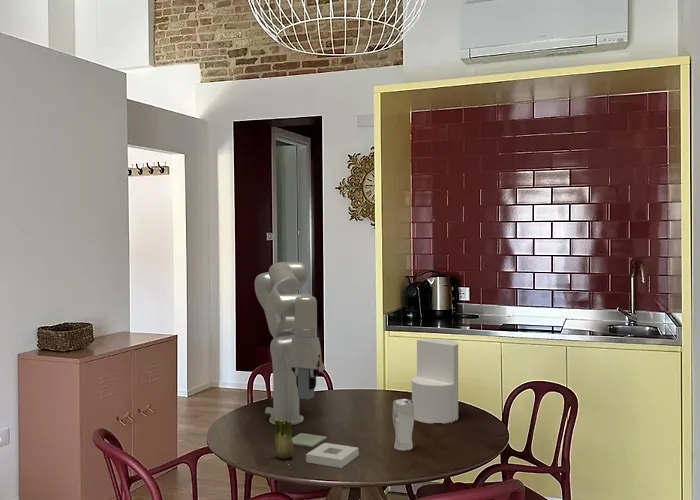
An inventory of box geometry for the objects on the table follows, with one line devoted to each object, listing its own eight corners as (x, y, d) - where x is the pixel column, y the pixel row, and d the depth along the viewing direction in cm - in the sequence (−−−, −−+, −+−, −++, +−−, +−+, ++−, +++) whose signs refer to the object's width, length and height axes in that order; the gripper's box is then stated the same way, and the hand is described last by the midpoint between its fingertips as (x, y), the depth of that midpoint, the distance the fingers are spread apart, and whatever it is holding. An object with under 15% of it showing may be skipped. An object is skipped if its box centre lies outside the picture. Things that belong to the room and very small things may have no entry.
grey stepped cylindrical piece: (431, 408, 264) (430, 337, 263) (467, 416, 252) (467, 342, 251) (402, 417, 252) (402, 342, 251) (439, 426, 240) (439, 348, 239)
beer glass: (400, 452, 212) (399, 405, 212) (388, 446, 218) (388, 400, 218) (418, 449, 215) (418, 402, 215) (406, 443, 222) (406, 397, 221)
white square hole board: (306, 462, 204) (306, 454, 204) (324, 450, 215) (324, 442, 215) (341, 468, 199) (341, 459, 199) (358, 455, 209) (358, 447, 209)
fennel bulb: (272, 457, 209) (272, 418, 208) (286, 453, 212) (285, 416, 211) (282, 462, 204) (282, 423, 204) (296, 458, 207) (296, 420, 207)
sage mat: (285, 443, 222) (285, 441, 222) (300, 434, 231) (300, 433, 231) (312, 447, 218) (312, 445, 218) (326, 438, 227) (326, 436, 227)
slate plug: (298, 398, 223) (297, 368, 222) (304, 395, 226) (303, 365, 226) (308, 399, 221) (308, 369, 221) (314, 396, 225) (314, 366, 224)
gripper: (278, 333, 223) (278, 388, 224) (322, 336, 216) (323, 393, 217) (289, 330, 230) (290, 383, 231) (333, 333, 223) (333, 388, 223)
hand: (306, 387), depth 224 cm, fingers closed on slate plug, 4 cm apart
